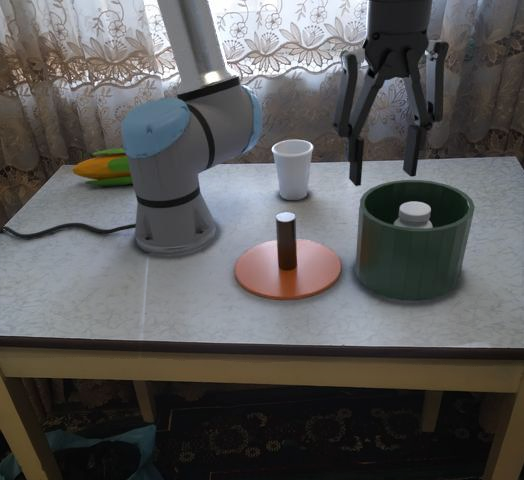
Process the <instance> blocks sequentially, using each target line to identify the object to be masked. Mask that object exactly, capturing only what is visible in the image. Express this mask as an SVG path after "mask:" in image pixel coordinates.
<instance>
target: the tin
mask: <svg viewBox="0 0 524 480" xmlns="http://www.w3.org/2000/svg"><path fill="white" fill-rule="evenodd" d="M406 202H422V203H425V204H427V205H429V206H430V208H431V213H430V218H429V221H430V222H431V223H432V226H433V228H407V227H400V226H396V225H393V224H394V222H395V221H396V220H397V219H398V218H399V209H400V206H401V205H402V204H404V203H406ZM475 208H476V207H475V204H474V201H473V199H472V198H471V197H470V196H469V195H468V194H467V193H466V192H464V191H462V190H460V189H458V188H457V187H454V186H451V185H449V184H445V183H442V182H437V181H432V180H423V179H402V180H393V181H388V182H384V183H381V184H378V185H374V186H373V187H371V188H369V189H368V190H367V191H365V192H364V193H363V194H362V195H361V197H360V198H359V202H358V217H357V218H358V220H357V235H356V236H357V237H356V252H355V264H354V265H355V267H354V268H355V269H354V273H355V276H356V277H357V280H358V281H359V283H360V284H361V285H362V286H363V287H364V288H366V290H369V291H371V292H372V293H374V294H376V295H379V296H381V297H384V298H387V299H393V300H397V301H403V302H407V301H408V302H419V301H427V300H428V301H429V300H434V299H437V298H439V297H443V296H445V295H446V294H448V293H450V292H451V291H452V292H453V291H454V290H455V289H456V288H457V286H458V284H459V281H460V277H461V273H462V268H463V262H464V258H465V253H466V249H467V244H468V240H469V237H470V231H471V226H472V222H473V217H474V214H475Z"/></svg>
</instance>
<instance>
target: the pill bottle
mask: <svg viewBox="0 0 524 480" xmlns="http://www.w3.org/2000/svg"><path fill="white" fill-rule="evenodd" d="M430 213H431V208H430V206H429V205H427V204H425V203H422V202H406V203H404V204H402V205H401V206H400V209H399V218H398V219H397V220H396V221H395V222H394V224H393V225H396V226H400V227H407V228H433V226H432V223H431V222H430V221H429V218H430Z"/></svg>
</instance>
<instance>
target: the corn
mask: <svg viewBox="0 0 524 480" xmlns="http://www.w3.org/2000/svg"><path fill="white" fill-rule="evenodd" d="M101 154H104V155H101ZM91 155H100V156H96V157H93V158H88V159H86V160H84V161H81V162H79V163H77V164H76V165H75V166H74V167H73V168H72V169H71V171H72V172H73V174H74V175H76V176H78V177H82V178H86V179H89V180H87V181H84V182H85V185H91V186H99V187H102V186H103V187H104V186H105V187H106V186H108V187H109V186H123V185H124V186H125V185H133V182H132V178H131V173H130V169H129V165H128V161H127V157H126V153H125V152H124V149H123V147H120V148H111V149H103V150H99V151H96V152H92V154H91Z"/></svg>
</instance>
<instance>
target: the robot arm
mask: <svg viewBox="0 0 524 480" xmlns="http://www.w3.org/2000/svg"><path fill="white" fill-rule="evenodd" d="M156 1H157V6H158V9H159V12H160V15H161V19H162V21H163V25H164V28H165V29H164V30H165V32H166V35H167V38H168V42H169V45H170V48H171V51H172V55H173V58H174V61H175V64H176V67H177V72H178V75H179V78H180V82H179V85H178V87H177V90H176V92H175V93H176V97H177V98H176V97H162V98H161V97H160V98H159V99H157V100H154V99H152V100H149V101H146V102H143V103H141V104H138V105H136V106H135V107H133V108H131V109H130V110H129V111H127V113H126V114H125V115H124V116H123V118H122V120H121V124H120V131H121V132H120V133H121V140H122V148H123V149H124V152H125V153H126V157H127V161H128V165H129V169H130V173H131V178H132V182H133V184H132V185H133V190H134V193H135V194H134V195H135V197H136V202H137V203H136V204H137V207H136V216H135V223H131V224H126V225H121V226H117V227H114V228H110V229H102V228H97V227H94V226H92V225H89V224H87V223H84V222H69V223H68V222H67V223H62V224H59V225H56V226H53V227H50V228H47V229H44V230H41V231H37V232H33V233H19V232H17V231H16V230H13V229H12V228H10V227H8V226H6V225H4V226H1V227H0V234H2V233H3V232H4V231H6V232H8V233H9V234H11V233H12V234H11V235H13V236H15V238H16V237H17V238H20V239H32V238H38V237H41V236H44V235H47V234H50V233H53V232H55V231H60V230H62V229H66V228H83V229H86V230H89V231H92V232H94V233H98V234H105V235H107V234H108V235H109V234H113V233H117V232H121V231H126V230H132V229H134V236H135V240H136V245H137V246H138V247H139V249H141V250H142V251H144V252H145V253H148V254H149V253H152V254H157V255H178V254H182V253H183V254H185V253H187V252H191V251H194V250H196V249H199V248H201V247H203V246H204V245H206V244H208V243H209V242H210V241H211V240H212V239H213V238H214V236H215V235H216V229H217V228H216V222H215V218H214V216H213V215H212V213H211V211H210V209H209V207H208V205H207V203H206V201H205V199H204V197H203V195H202V192H201V187H200V180H199V174H201V173H203V172H204V171H207V170H210V169H211V168H214V167H217V166H218V165H220V164H223V163H225V162H227V161H230V160H232V159H237V158H239V157H241V156H242V155H243V154H245V153H247V152H248V151H250V150H251V149H253V148H254V147H255V146H256V145H257V143H258V140H259V139H260V137H261V134H262V129H263V112H262V108H261V104H260V102H259V99H258V97H257V95H256V94H253V90H252V89H251V88H250V87H248V86H247V85H243V84H242V83H241V79H240V75H239V73H238V72H237V71H235V70H233V69H232V68H230V67H229V65H228V63H227V59H226V55H225V52H224V47H223V44H222V40H221V36H220V33H219V28H218V24H217V21H216V17H215V12H214V10H213V9H214V8H213V6H212V2H211V1H212V0H156ZM432 7H433V0H367V6H366V8H367V9H366V22H365V33H366V34H365V37H364V41H363V43H362V45H361V47H359V48H357V49H353V50H351V51H349V50H347V49H344V50H342V51H341V52H340V55H339V56H340V57H339V58H340V65H341V74H340V75H341V76H340V79H339V80H340V81H339V85H338V86H339V87H338V92H337V96H336V97H337V98H336V103H335V108H334V115H333V120H332V125H331V129H332V131H333V132H334V133H335V134H336V135H337V136H339V137H340V138H344V155H343V156H344V158H345V160H346V161H347V162H348V163H349V171H348V179H349V181H350V182H351V183H352V184H353V185H354V186H355V187H361V185H362V177H363V175H362V173H363V163H364V161H363V160H364V147H365V139H364V138H363V137H362V136H361V133H362V131H363V128H364V125H365V123H366V121H367V118H368V116H369V114H370V112H371V110H372V107H373V105H374V103H375V100H376V98H377V96H378V93H379V91H380V90H381V89H382V88H383V86H384V84H385V82H386V81H390V80H392V79H396V78H397V79H402V81H403V85H404V88H405V93H406V96H407V99H408V103H409V107H410V112H411V115H412V118H413V122H414V124H407V132H406V139H405V140H406V141H405V149H404V156H403V165H402V171H404V172H405V173H406V174H407V175H408V176H409V177H410V178H413V177H416V176H417V170H418V162H419V156H420V152H423V151H424V149H425V147H426V141H427V134H428V131H431V130H432V129H433V127H434V123H439V122H441V121H442V120H443V119H444V118H443V117H444V90H445V89H444V88H445V87H444V86H445V85H444V84H445V61H446V59H447V54H448V52H449V48H450V44H449V42H447V41H445V40H443V39H440V38H437V37H436V38H435V37H434V38H433V39H429V36H428V28H429V26H430V22H431V16H432V15H431V14H432ZM424 55H425V57H426V65H425V67H426V72H425V73H426V82H425V83H426V84H425V85H426V89H425V90H426V91H425V92H426V95H424V91H423V88H422V87H423V86H422V82H421V77H422V76H421V72H420V68H419V64H418V63H419V62H420V60H421V59H422V58H423V56H424ZM363 60H365V62H366V63H367V65H368V67H367V69H366V71H365V74H364V76H363V83H362V86H361V87H360V91H359V93H358V95H357V98H356V100H355V103H354V99H355V93H356V89H357V82H358V74H359V70H360V69H361V67H362V63H363ZM425 96H426V99H425ZM353 103H354V104H353ZM3 229H5V230H3Z"/></svg>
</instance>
